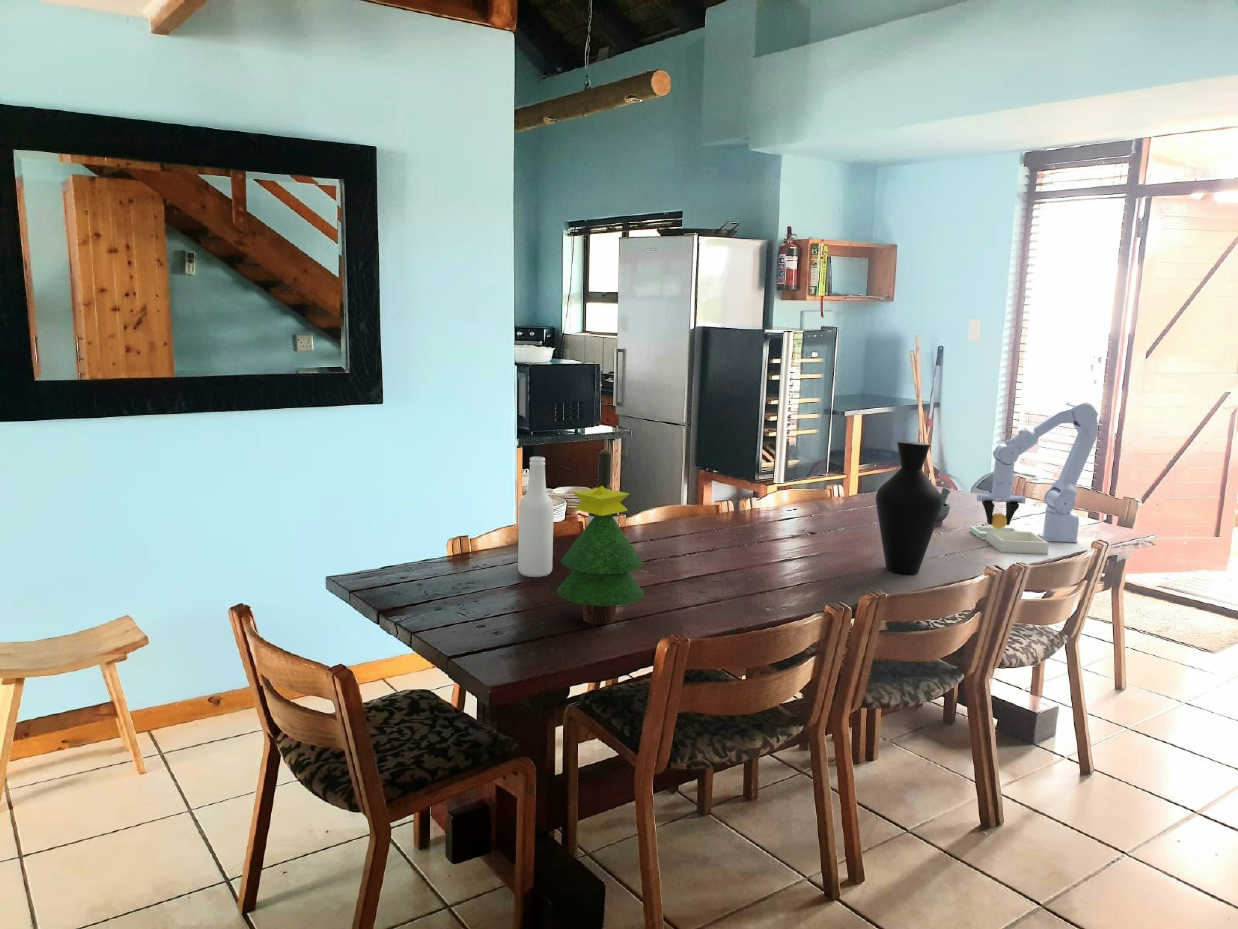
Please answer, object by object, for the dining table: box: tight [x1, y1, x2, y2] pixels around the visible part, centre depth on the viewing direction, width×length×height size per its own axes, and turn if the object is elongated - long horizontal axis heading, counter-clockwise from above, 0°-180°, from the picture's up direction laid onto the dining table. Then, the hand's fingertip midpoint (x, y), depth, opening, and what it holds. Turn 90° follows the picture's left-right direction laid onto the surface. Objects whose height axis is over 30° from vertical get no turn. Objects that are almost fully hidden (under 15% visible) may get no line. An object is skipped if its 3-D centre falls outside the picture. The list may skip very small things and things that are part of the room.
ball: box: [990, 512, 1007, 529], centre depth 301 cm, size 5×5×5 cm
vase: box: [875, 440, 942, 576], centre depth 255 cm, size 17×17×35 cm
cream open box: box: [985, 530, 1050, 555], centre depth 288 cm, size 14×14×4 cm
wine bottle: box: [587, 449, 619, 525], centre depth 256 cm, size 8×8×30 cm
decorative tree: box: [556, 486, 645, 625], centre depth 207 cm, size 19×19×30 cm
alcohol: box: [517, 456, 555, 578], centre depth 241 cm, size 9×9×30 cm
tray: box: [969, 525, 1019, 540], centre depth 302 cm, size 14×10×2 cm
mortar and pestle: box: [935, 487, 951, 527], centre depth 315 cm, size 11×9×12 cm
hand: (998, 524), depth 301 cm, fingers closed on ball, 5 cm apart
